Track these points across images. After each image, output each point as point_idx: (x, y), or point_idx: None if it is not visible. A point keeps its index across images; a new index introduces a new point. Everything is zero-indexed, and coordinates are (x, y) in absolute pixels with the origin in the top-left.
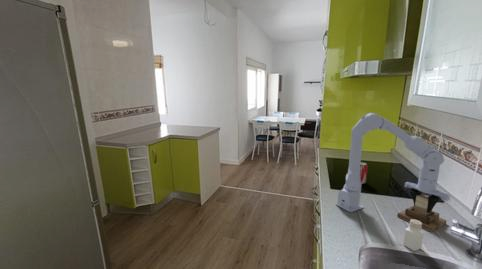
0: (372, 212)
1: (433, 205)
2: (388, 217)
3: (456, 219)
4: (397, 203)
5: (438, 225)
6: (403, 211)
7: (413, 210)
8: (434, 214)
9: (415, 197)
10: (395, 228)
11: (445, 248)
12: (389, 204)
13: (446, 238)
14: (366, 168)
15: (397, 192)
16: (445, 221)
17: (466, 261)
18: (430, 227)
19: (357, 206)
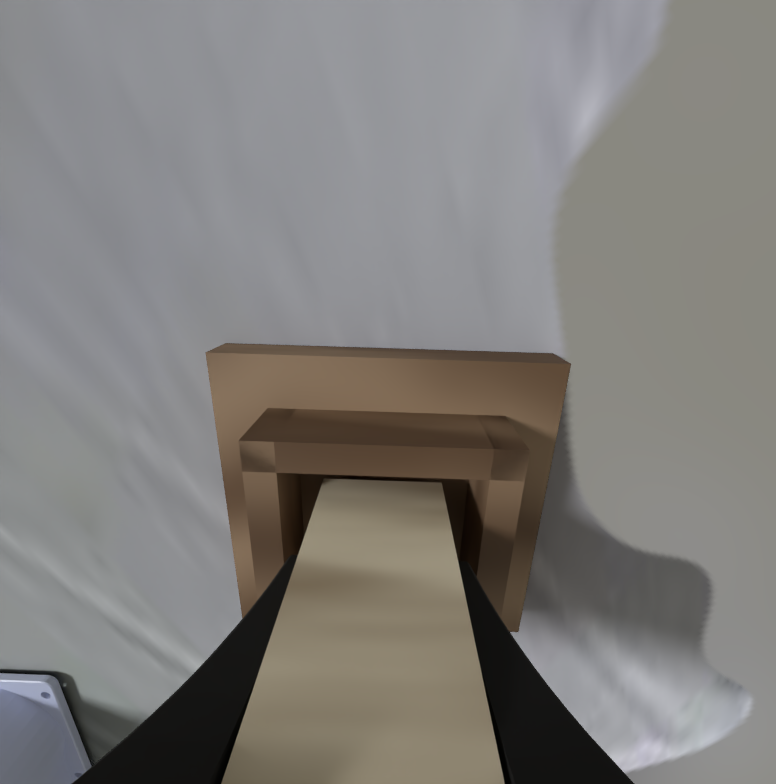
0: (138, 675)
1: (508, 660)
2: None
3: (617, 79)
4: (47, 318)
5: (535, 527)
6: (239, 548)
7: (293, 525)
8: (496, 525)
9: None
10: None
11: (616, 699)
12: (49, 429)
13: (602, 596)
14: None
15: None
16: (563, 387)
17: (715, 723)
18: (505, 623)
19: (47, 756)
